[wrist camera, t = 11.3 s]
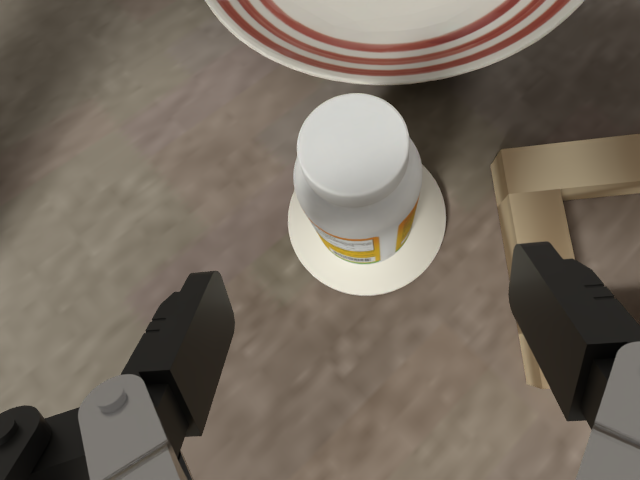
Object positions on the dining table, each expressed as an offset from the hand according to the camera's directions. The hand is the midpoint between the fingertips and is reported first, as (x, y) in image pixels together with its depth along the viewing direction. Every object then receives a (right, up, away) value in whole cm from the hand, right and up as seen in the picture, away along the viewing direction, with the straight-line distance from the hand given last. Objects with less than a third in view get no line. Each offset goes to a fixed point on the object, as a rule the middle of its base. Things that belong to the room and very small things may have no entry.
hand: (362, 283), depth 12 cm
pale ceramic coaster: (+2, +2, +13) cm, 13 cm away
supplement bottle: (+1, +2, +12) cm, 13 cm away
